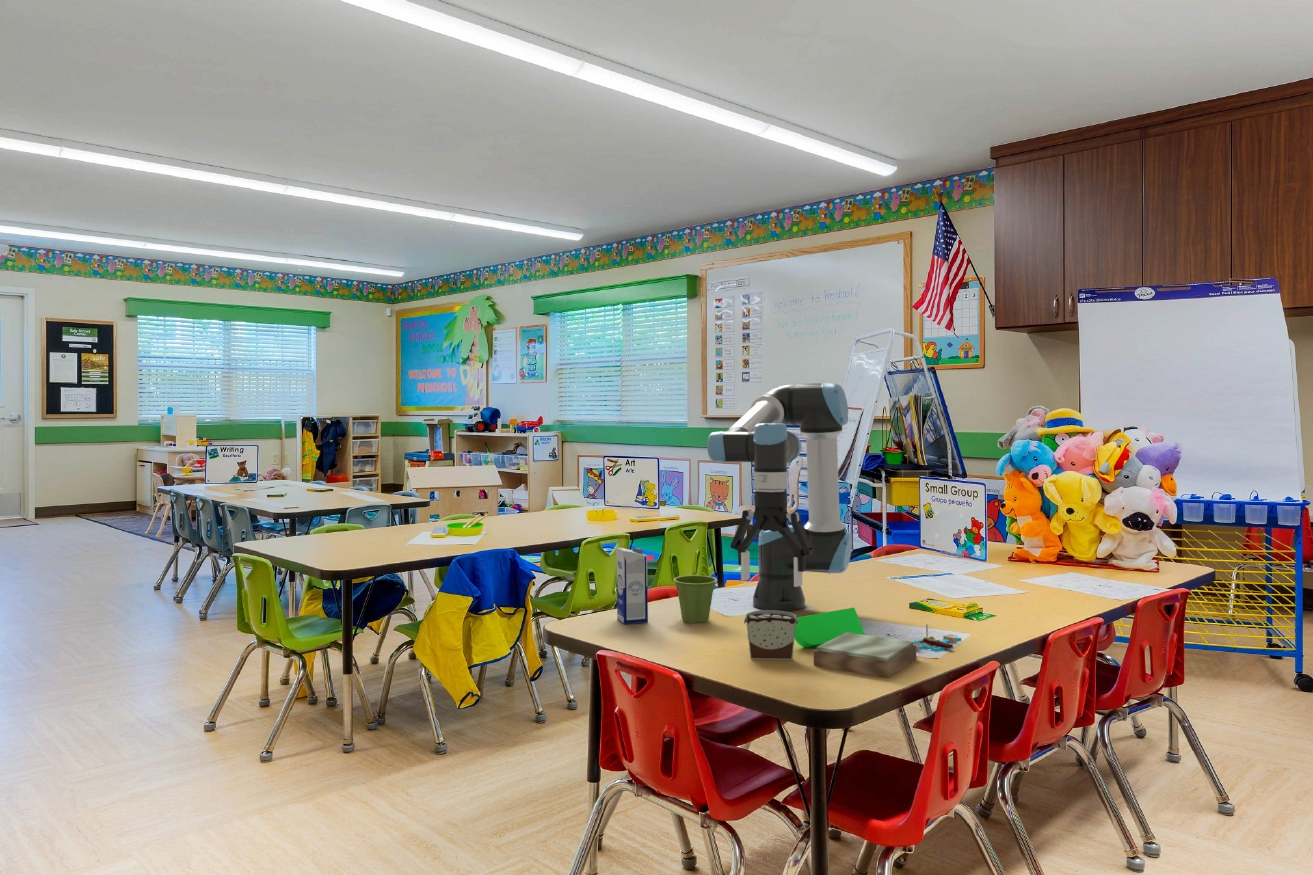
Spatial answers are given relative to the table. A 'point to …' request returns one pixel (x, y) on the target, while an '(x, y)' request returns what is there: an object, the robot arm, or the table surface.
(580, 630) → the table surface
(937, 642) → the toy boat
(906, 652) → the stand
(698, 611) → the plant pot
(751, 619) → the food container
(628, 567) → the milk carton
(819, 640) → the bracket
